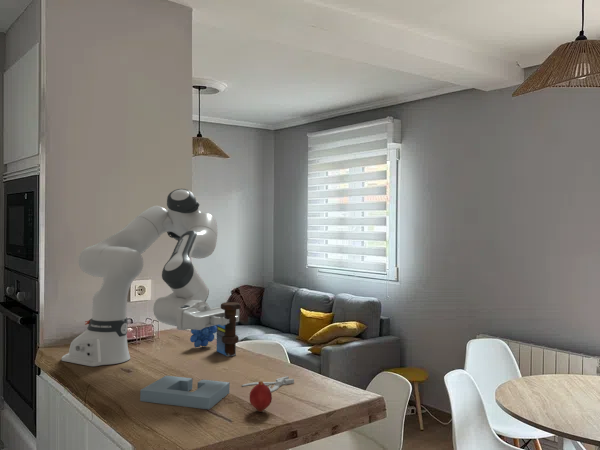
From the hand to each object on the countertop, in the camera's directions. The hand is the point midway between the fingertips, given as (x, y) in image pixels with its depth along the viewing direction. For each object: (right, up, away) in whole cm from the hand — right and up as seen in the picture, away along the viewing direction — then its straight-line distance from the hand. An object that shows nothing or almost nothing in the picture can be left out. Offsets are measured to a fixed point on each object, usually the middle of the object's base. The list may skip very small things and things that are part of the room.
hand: (232, 320), depth 158 cm
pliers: (+11, -21, +3) cm, 24 cm away
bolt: (-1, -10, +1) cm, 10 cm away
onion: (+9, -20, -18) cm, 29 cm away
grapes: (-18, -19, +49) cm, 55 cm away
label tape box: (-8, -19, +40) cm, 45 cm away
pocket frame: (-12, -20, -9) cm, 25 cm away
